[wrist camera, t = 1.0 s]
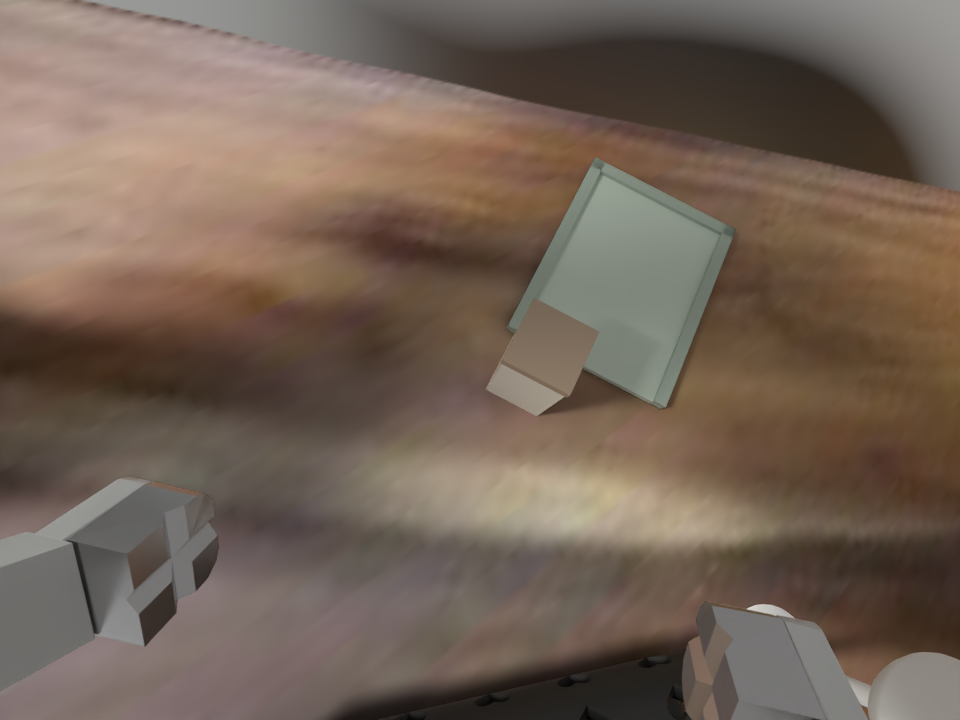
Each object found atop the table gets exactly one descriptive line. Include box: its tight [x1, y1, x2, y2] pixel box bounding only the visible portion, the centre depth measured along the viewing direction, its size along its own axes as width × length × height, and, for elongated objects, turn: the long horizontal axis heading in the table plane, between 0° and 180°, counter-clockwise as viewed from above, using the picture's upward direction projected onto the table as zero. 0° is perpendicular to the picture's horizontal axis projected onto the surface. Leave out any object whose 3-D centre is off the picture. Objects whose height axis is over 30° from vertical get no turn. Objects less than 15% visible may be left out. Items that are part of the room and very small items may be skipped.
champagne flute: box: [747, 604, 960, 720], centre depth 27 cm, size 7×7×24 cm
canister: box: [485, 298, 599, 416], centre depth 37 cm, size 5×5×9 cm
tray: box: [506, 157, 736, 409], centre depth 44 cm, size 14×18×1 cm
